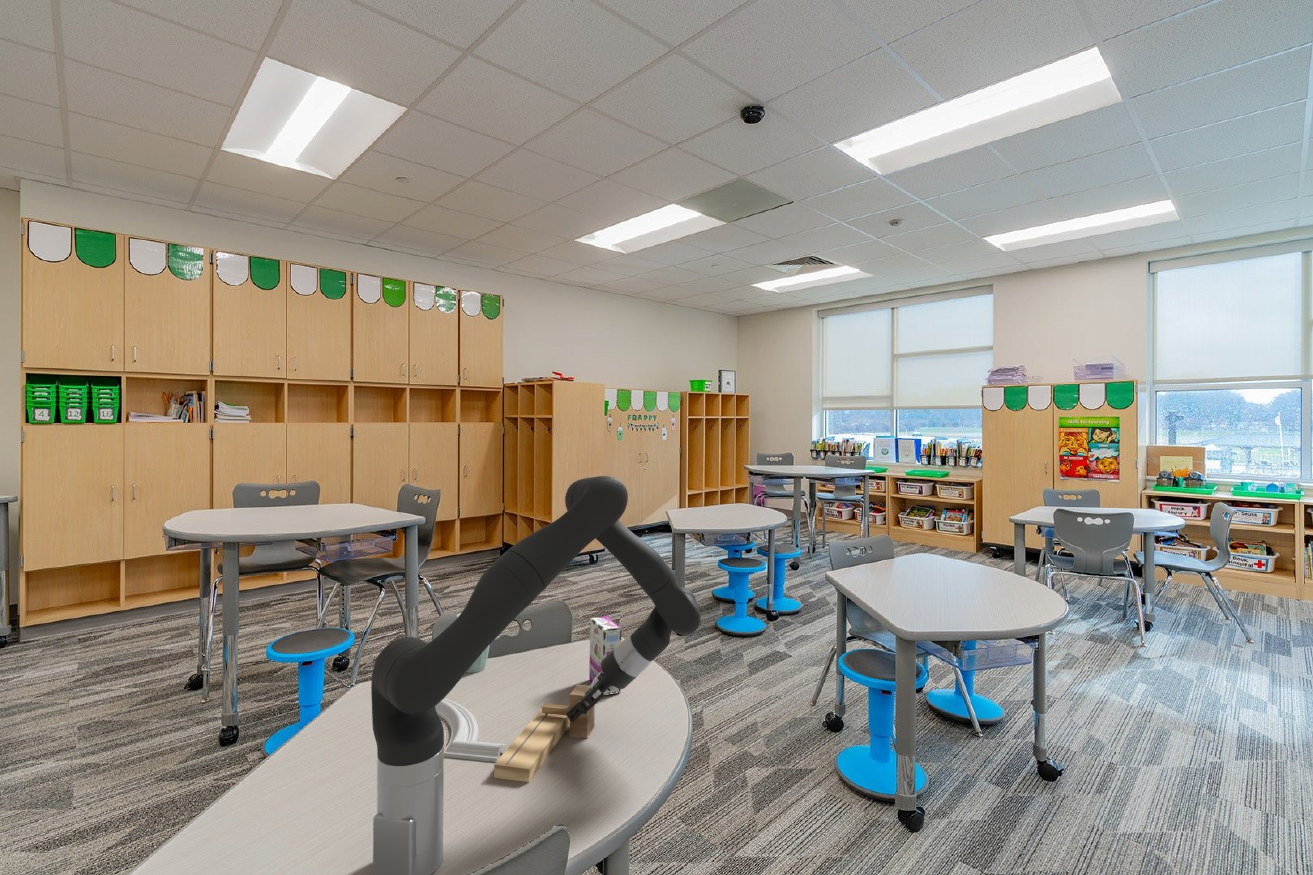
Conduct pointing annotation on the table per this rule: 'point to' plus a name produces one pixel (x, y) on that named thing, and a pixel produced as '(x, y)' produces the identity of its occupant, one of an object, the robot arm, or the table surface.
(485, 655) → the disposable coffee cup
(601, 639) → the candy bar box
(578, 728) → the wooden block with tab
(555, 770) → the table surface
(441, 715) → the molding
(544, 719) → the plank
